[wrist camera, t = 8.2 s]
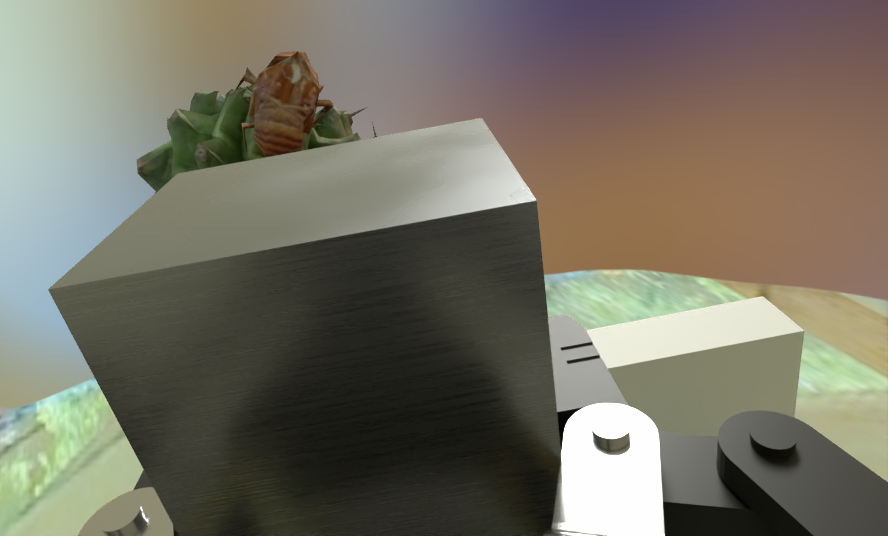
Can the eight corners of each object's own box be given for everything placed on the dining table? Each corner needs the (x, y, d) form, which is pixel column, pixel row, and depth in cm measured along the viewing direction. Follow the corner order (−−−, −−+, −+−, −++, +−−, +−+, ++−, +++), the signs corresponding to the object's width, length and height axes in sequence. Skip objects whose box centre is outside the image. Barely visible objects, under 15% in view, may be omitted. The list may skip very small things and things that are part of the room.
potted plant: (322, 354, 50) (223, 45, 39) (540, 398, 40) (489, 1, 29) (137, 522, 36) (-94, 120, 25) (398, 651, 26) (204, 85, 16)
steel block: (336, 832, 11) (47, 288, 6) (349, 626, 15) (177, 173, 10) (593, 784, 11) (537, 200, 6) (544, 590, 15) (481, 117, 10)
